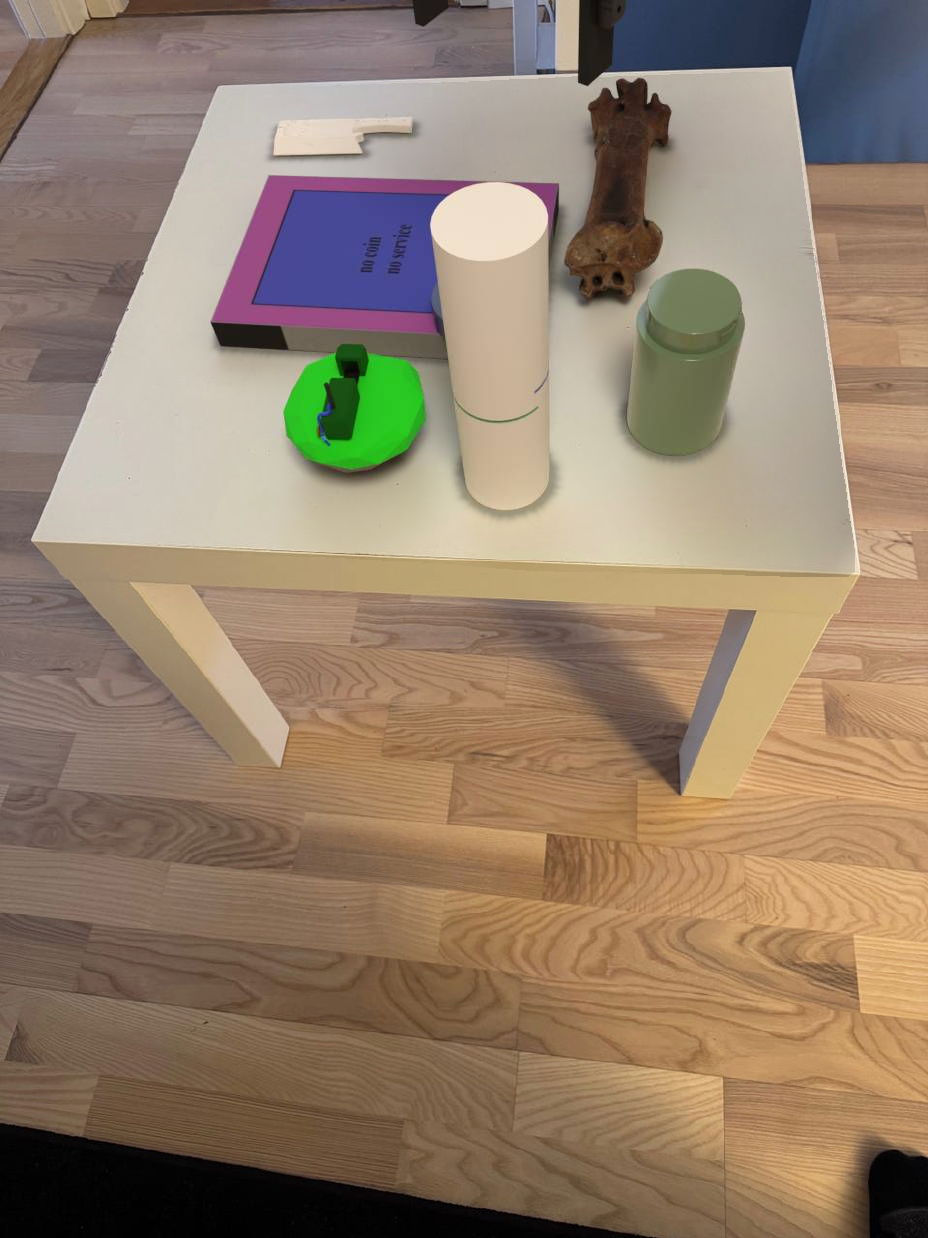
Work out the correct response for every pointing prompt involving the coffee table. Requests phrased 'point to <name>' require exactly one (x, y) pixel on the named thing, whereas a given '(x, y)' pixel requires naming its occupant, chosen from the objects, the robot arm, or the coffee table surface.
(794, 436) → the coffee table surface
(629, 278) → the bone
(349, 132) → the butcher knife
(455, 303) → the cylindrical container
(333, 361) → the green rounded piece
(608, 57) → the robot arm
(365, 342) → the book
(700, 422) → the jar
